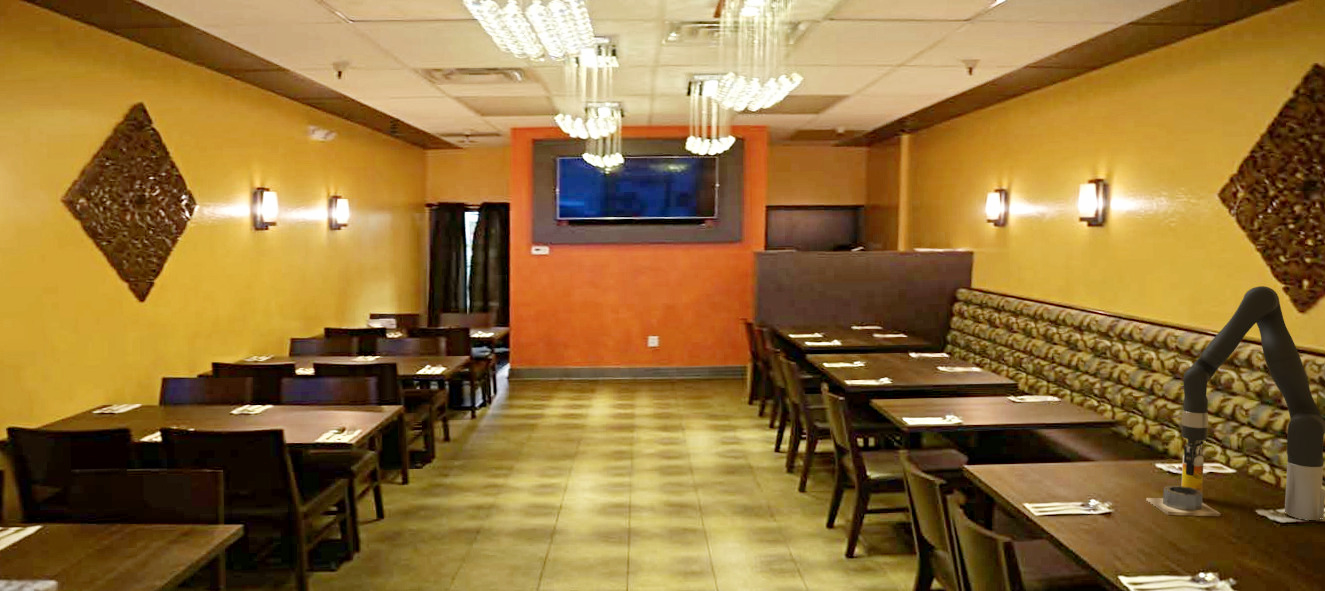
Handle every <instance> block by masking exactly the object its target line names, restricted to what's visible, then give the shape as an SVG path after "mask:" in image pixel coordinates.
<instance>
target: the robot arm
mask: <svg viewBox="0 0 1325 591" xmlns="http://www.w3.org/2000/svg"><path fill="white" fill-rule="evenodd" d="M1255 324H1256V325H1257V328H1258V330H1259V334H1260V340H1261V341H1260V342H1261V348H1262V354H1263V358H1264V361H1265V364H1266V367H1267V369H1268V371H1269V374H1270V377H1271V379H1272V381H1273V383H1274V384H1275V385H1276V388H1277V389H1278V390H1279V392H1280V393H1281V395H1282V396H1283V398H1284V400H1285V404H1286V407H1287V409H1288V413H1289V417H1290V418H1289V419H1290V421H1289V423H1288V426H1287V438H1286V441H1287V442H1286V453H1287V460H1286V462H1287V463H1286V479H1285V480H1286V481H1285V482H1286V483H1285V499H1284V500H1285V501H1284V513H1285V512H1286V513H1287V514H1288V515H1290V516H1293V517H1296V518H1300V519H1299V520H1301V519H1308V520H1307V521H1309V520H1316V521H1319V520H1318V519H1320V518H1323V519H1324V515H1325V513H1324V511H1325V489H1323V472H1324V440H1325V439H1324V438H1325V437H1324V436H1325V419H1324V417H1323V416H1322V414H1321V412H1320V410H1319V408H1318V406H1317V404H1316V402H1315V400H1314V397H1313V395H1312V393H1311V388H1310V385H1309V380H1308V377H1307V374H1306V370H1305V367H1304V365H1303V362H1302V359H1301V356H1300V353H1299V351H1298V349H1297V346H1296V345H1295V342H1294V340H1293V337H1292V336H1291V334H1290V332H1289V329H1288V328H1287V326H1286V323H1285V319H1284V316H1283V312H1282V308H1281V304H1280V297H1279V295H1278V293H1277V292H1276V291H1275V290H1274V289H1273V288H1271V287H1268V286H1265V285H1263V286H1261V285H1258V286H1256V287H1255V286H1254V287H1252V288H1250V289H1249V290H1247V291H1246V293H1245V294H1244V295H1243V299H1242V300H1241V302H1240V303H1239V305H1238V307H1237V309H1236V311H1235V312H1234V314H1232V317H1231V318H1230V319H1229V320H1228V322H1227V323H1226V324H1225V325H1224V326H1223V327H1222V329H1220V331H1219V332H1218V333H1217V334H1216V335H1215V336H1214V338H1212V340H1211V341H1210V342H1209V343H1208V344H1207V346H1206V347H1205V348H1204V350H1203V351H1202V352H1201V354H1200V356H1199V357H1198V358H1197V360H1195V362H1194V363H1193V364H1192V365H1191V366H1190V367H1189V368H1188V369H1187V370H1185V372H1184V373H1183V378H1182V379H1183V393H1184V395H1183V396H1184V397H1183V409H1182V410H1183V412H1182V416H1181V418H1182V419H1181V437H1182V438H1184V439H1186V440H1187V443H1185V445H1184V447H1183V455H1184V463H1186V474H1187V475H1194V464H1195V458H1197V456H1198V454H1201V455H1202V456H1203V448H1204V441H1205V440H1207V439H1208V426H1209V416H1208V415H1209V414H1208V411H1209V410H1208V408H1209V407H1208V406H1209V400H1208V396H1207V393H1208V392H1207V387H1208V383H1209V382H1210V380H1211V379H1212V378H1213V376H1214V375H1215V374H1216V372H1217V371H1218V369H1220V367H1222V365H1223V364H1225V362H1226V361H1227V360H1228V359H1229V358H1230V357H1231V355H1233V353H1234V352H1235V350H1237V347H1238V346H1239V345H1240V344H1241V342H1242V340H1243V339H1244V338H1245V336H1246V334H1247V333H1248V332H1249V331H1250V330H1251V329H1252V328H1253V327H1254V325H1255ZM1189 457H1190V458H1191V460H1188V458H1189ZM1296 518H1295V519H1296ZM1320 520H1321V519H1320Z"/></svg>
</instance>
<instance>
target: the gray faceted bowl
mask: <svg viewBox="0 0 1325 591" xmlns="http://www.w3.org/2000/svg"><path fill="white" fill-rule="evenodd" d="M1203 493H1204V492H1203V491H1202V492H1201V491H1200V490H1198V489H1194V488H1190V487H1184V486H1182V485H1167V486H1164V487H1163V495H1162V498H1163V504H1165V505H1166V506H1168V507H1171V508H1175V509H1180V510H1190V511H1196V510H1201V509H1202V503H1203Z"/></svg>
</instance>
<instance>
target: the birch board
mask: <svg viewBox="0 0 1325 591" xmlns="http://www.w3.org/2000/svg"><path fill="white" fill-rule="evenodd" d="M1147 501H1148V502H1147ZM1146 502H1147V503H1149V502H1150V503H1149V504H1151V505H1152V504H1153V505H1152V506H1154V507H1155V506H1156V508H1157V509H1158V510H1160V511H1161V512H1163V513H1164V514H1165V515H1167V516H1189V517H1190V516H1193V517H1195V516H1196V517H1197V516H1199V517H1221V512H1219V511H1217V510H1216V509H1214V508H1212V507H1210V506H1209V505H1207V504H1206V503H1204V502H1202V509H1201V510H1196V511H1190V510H1180V509H1175V508H1171V507H1168V506H1166V505H1165V504H1163V497H1162V498H1161V497H1146Z"/></svg>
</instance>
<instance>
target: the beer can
mask: <svg viewBox="0 0 1325 591" xmlns="http://www.w3.org/2000/svg"><path fill="white" fill-rule="evenodd" d="M1188 460H1191V458H1190V457H1189V458H1188ZM1204 460H1205V459H1204V456H1203V454H1202V455H1201V454H1198V456H1197V458H1195V464H1194V475H1187V474H1186V463H1184V454H1183V455H1182V464H1181V465H1182V467H1181V468H1182V470H1181V486H1184V487H1190V488H1194V489H1198V490H1200V491H1201V492H1203V484H1204V483H1203V481H1204V480H1203V478H1204Z"/></svg>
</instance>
